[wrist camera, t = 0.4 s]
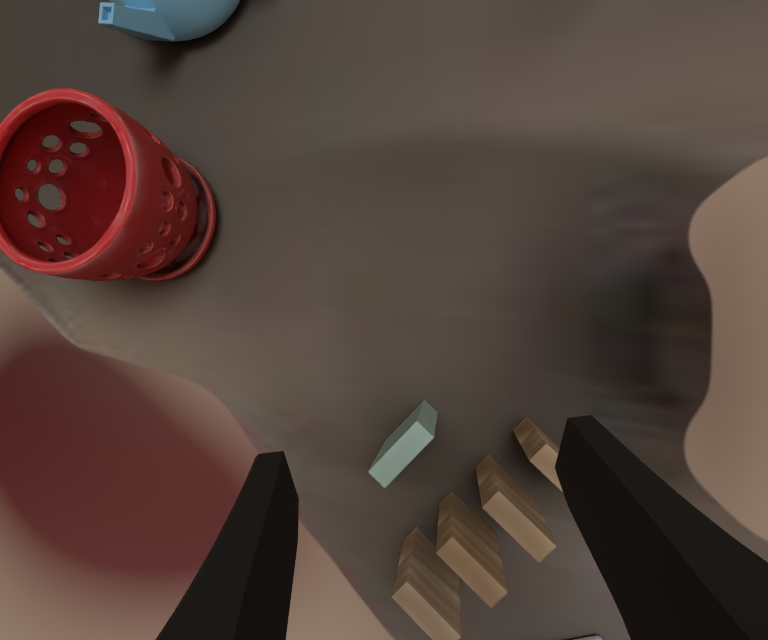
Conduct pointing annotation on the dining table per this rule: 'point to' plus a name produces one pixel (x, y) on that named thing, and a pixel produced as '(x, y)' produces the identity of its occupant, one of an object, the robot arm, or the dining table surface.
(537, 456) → the domino
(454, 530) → the domino
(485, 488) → the domino
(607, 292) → the dining table surface
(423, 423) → the teal domino
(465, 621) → the dining table surface
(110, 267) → the plant pot
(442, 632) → the domino
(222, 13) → the teapot
